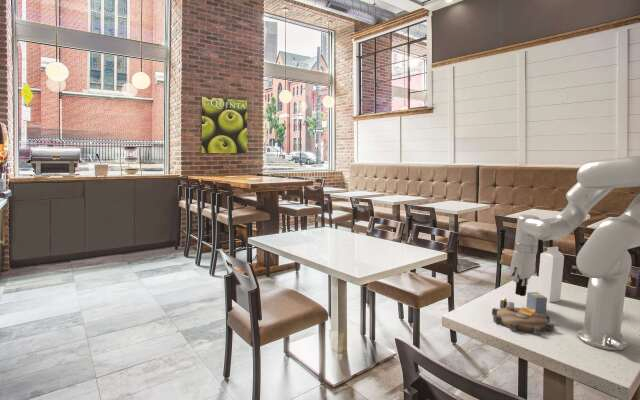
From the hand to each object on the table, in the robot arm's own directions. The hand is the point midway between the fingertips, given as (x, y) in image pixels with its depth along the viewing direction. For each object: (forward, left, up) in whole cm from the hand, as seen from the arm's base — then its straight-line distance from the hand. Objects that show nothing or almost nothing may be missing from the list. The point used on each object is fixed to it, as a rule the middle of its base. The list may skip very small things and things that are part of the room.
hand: (520, 294), depth 148 cm
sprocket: (-11, +6, -6) cm, 14 cm away
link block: (0, -6, -6) cm, 9 cm away
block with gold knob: (+1, +6, -6) cm, 8 cm away
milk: (+11, -18, -6) cm, 22 cm away
